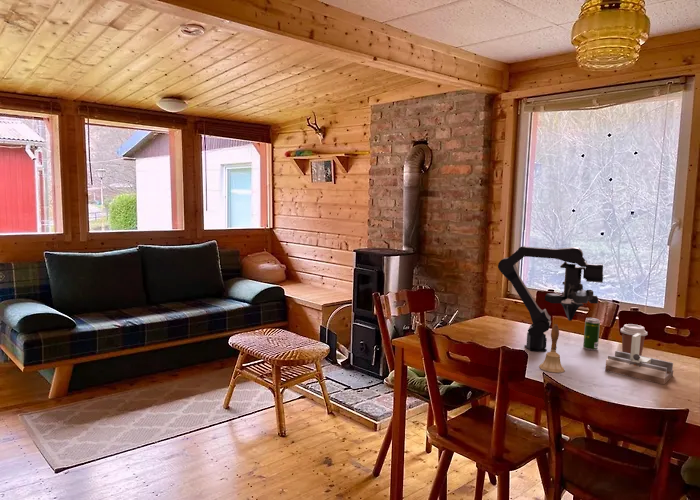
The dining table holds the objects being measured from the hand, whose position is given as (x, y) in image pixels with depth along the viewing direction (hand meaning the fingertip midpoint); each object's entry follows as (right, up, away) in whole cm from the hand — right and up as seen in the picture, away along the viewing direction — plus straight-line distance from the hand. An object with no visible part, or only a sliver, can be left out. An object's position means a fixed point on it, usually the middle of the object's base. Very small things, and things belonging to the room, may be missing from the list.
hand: (569, 320), depth 198 cm
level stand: (+16, -16, -19) cm, 29 cm away
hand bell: (-13, -15, -17) cm, 26 cm away
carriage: (+15, -14, -21) cm, 29 cm away
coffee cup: (+23, -14, -1) cm, 27 cm away
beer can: (+12, -13, +9) cm, 19 cm away
